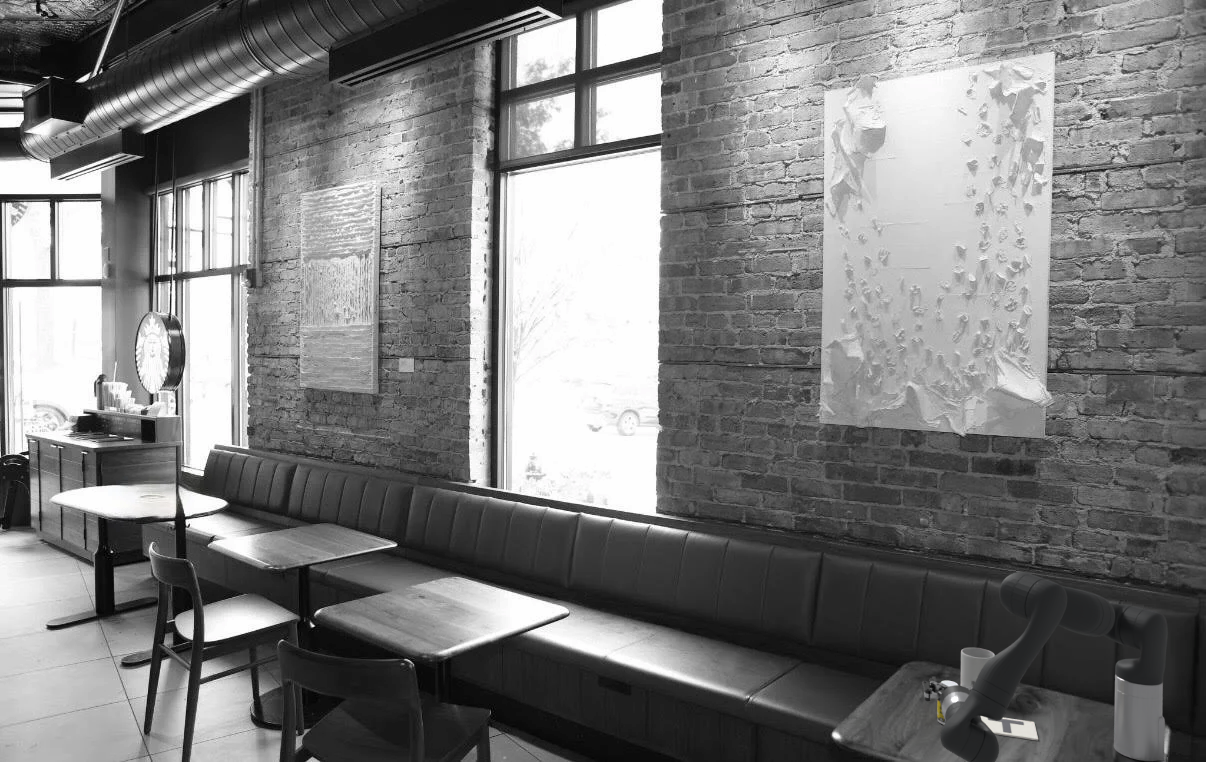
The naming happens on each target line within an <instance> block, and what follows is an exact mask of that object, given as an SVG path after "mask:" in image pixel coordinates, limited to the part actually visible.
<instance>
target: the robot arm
mask: <svg viewBox="0 0 1206 762" xmlns="http://www.w3.org/2000/svg"><path fill="white" fill-rule="evenodd" d="M998 593H999V594H998V595H999V601H1000V604H1001V605H1002V607H1003V608H1004V609H1005V610H1006V611H1007V612H1009V613H1010V614H1011V615H1014V616H1016V617H1018V618H1020V619H1022V620H1025V621H1027V622H1028V624H1027V626H1026V628H1025V630H1023V631H1024V632H1022V634H1021V635H1020V636H1019V637H1018V638H1017V639H1016V640H1015V641H1014V642H1012V643H1011V644H1010V645H1009V646H1008V647H1006V648H1004V649H1003V650H1002V651H1000V652H998V653H997V654H996V655H995V656H994V657H993V658H991V659H990V660H989V661H988V662H987V663H986V664H985V665H984V666H983V668H982V669H981V671H980V673H979V675H978V678H977V679H976V681H971V686H969V687H963V686H960V685H959V684H958V685H954V686H947V685H945V684H943V683H941V682H937V678H936V676H931V677H930V678H929V681H926V680H922V682H921V685H922V687H921V689H922V690H921V693H922V696H923V699H924V700H925V702H931V700H933V699H937V702H938V701H940V703H941V707H942V714H943V716H944V719H945V721H946V723H945V724H944V725H943V726H942V728H941V730H940V734H939V737H940V742H941V745H942V746H943V747H944V748H945V749H946V750H947V751H949V752H950V753H952V754H954V755H955V756H958V758H961V759H962V760H964V761H965V762H997V759H998V757H999V754H1000V745H999V740H998V738H997V736H996V734H994V733H993V732H992V730H991V729H990V728H989V727H988V726H987V725H986V724H985V723H984V722H983V721H982V720H981V716H983V717H986V718H989V719H992V720H996V721H999V720H1001V719H1002V718H1004V716H1005V714H1006V712H1007V710H1008V708H1009V706H1010V704H1011V701H1013V697H1014V695H1015V692H1016V690H1017V689H1018V687H1019V685H1020V682H1021V680H1022V679H1023V677H1024V675H1025V674H1026V672H1027V671H1028V669H1029V668H1030V666H1031V665H1032V664H1033V662H1034V661H1035V659H1036V658H1037V656H1038V655H1039V654H1040V652H1041V650H1042V649H1043V648H1044V646H1045V645H1046V643H1047V642H1048V640H1049V639H1050V637H1051V636H1052V635H1053V633H1054V632H1055V630H1056V629H1057V627H1061V628H1062V629H1065V630H1067V631H1070V632H1073V633H1075V634H1079V635H1083V636H1086V637H1093V638H1094V637H1095V638H1096V637H1102V636H1104V637H1105V638H1107V639H1109V640H1111V641H1113V642H1115V643H1118V644H1120V645H1123V646H1125V647H1130V648H1132V649H1137V650H1140V652H1139V653H1140V655H1139V657H1138V658H1125V659H1120V660H1118V661H1117V662H1116V663H1115V668H1114V669H1115V670H1114V672H1115V675H1114V679H1115V680H1114V720H1113V721H1114V723H1113V724H1114V726H1113V727H1114V730H1113V731H1114V732H1113V748H1114V750H1115V751H1116V752H1117V753H1119V754H1120V755H1123V756H1124V757H1126V758H1130V759H1134V760H1137V761H1144V762H1156V761H1159V762H1160V761H1161V762H1165V733H1166V732H1165V731H1166V730H1165V729H1166V728H1165V727H1166V726H1165V725H1166V722H1165V721H1166V720H1165V717H1164V716H1163V698H1164V697H1163V695H1164V694H1163V692H1164V691H1163V690H1164V689H1163V687H1164V686H1163V685H1164V675H1165V669H1166V661H1167V660H1166V659H1167V656H1166V655H1167V648H1168V647H1167V645H1168V634H1169V633H1168V623H1167V619H1166V616H1164V614H1162V613H1160V612H1158V611H1155V610H1151V609H1147V608H1144V607H1143V608H1142V607H1139V606H1134V605H1131V604H1125V603H1123V604H1122V603H1113V602H1112V603H1111V602H1110V601H1108V600H1107V599H1106V598H1105V597H1103V596H1101V595H1099V594H1096V593H1093V592H1090V591H1087V590H1083V589H1079V588H1074V587H1069V586H1063V585H1061V584H1059V583H1057V582H1055V581H1052V580H1050V579H1046V578H1045V577H1044V578H1043V577H1040V576H1038V575H1036V574H1033V573H1029V572H1026V571H1017V572H1012V573H1010V574H1009V575H1008V576H1006V577H1005V578H1004V579H1003V580H1002V582H1001V583H1000V587H999V591H998Z"/></svg>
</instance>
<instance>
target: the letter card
mask: <svg viewBox="0 0 1206 762" xmlns="http://www.w3.org/2000/svg"><path fill="white" fill-rule="evenodd" d="M981 720H982V721H983V722H984V723H985V724H986V725H987V726H988V727H989V728H990V729H991V730H992V732H993V733H994V734H995V735H999V736H1004V737H1012V738H1017V739H1026V740H1032V741H1039V737H1038V733H1037V727H1036V725H1035V721H1031V720H1024V719H1023V720H1022V719H1016V718H1015V719H1014V718H1008V717H1003V718H1002V719H1001V720H999V721H996V720H992V719H989V718H986V717H983V716H981Z"/></svg>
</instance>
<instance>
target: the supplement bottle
mask: <svg viewBox="0 0 1206 762" xmlns="http://www.w3.org/2000/svg"><path fill="white" fill-rule="evenodd" d="M940 683H943V684H945V685H947V686H954V685H959V684H958V683H957V682H955V681H951V680H942V681H941V682H940ZM936 703H937V704H936V705H937V710H936V714H937V715H936V718H937V719H936V720H937V722H939V723H940V724H941V725H943V726H944V724H945V723H946V721H945V719H944V716H943V714H942V707H941V703H940V701H938V700H937V702H936Z"/></svg>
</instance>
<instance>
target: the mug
mask: <svg viewBox="0 0 1206 762" xmlns="http://www.w3.org/2000/svg"><path fill="white" fill-rule="evenodd" d="M994 656H995V653H994V652H993V651H991V650H988V649H984V648H980V647H964V648H963V649H961V651H960V685H959V686H963V687H969V686H971V681H976V679H977V678H978V675H979V673H980V671H981V669H982V668H983V666H984V665H985V664H986V663H987V662H988V661H989V660H990V659H991V658H993V657H994Z"/></svg>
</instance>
